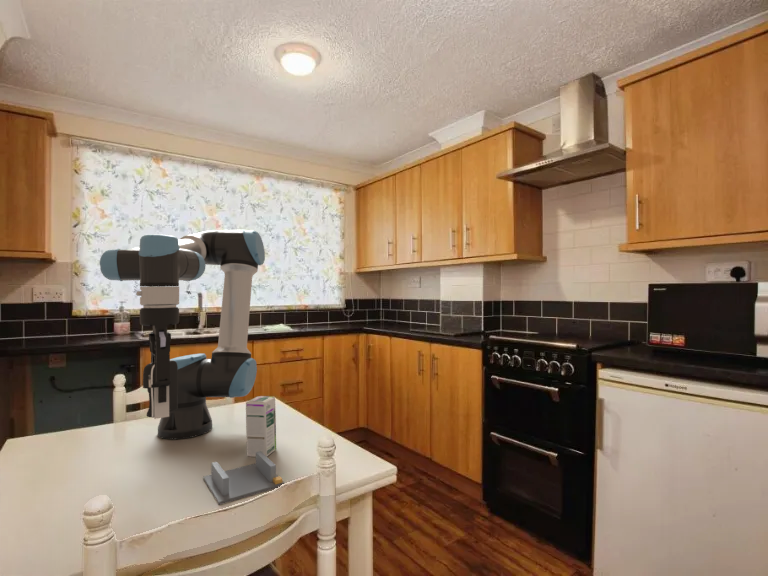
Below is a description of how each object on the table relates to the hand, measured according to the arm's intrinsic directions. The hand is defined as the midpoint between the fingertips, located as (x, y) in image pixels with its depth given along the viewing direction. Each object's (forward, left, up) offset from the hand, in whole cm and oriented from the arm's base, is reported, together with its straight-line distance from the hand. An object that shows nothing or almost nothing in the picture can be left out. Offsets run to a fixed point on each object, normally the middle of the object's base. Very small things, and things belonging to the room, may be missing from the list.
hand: (160, 412), depth 89 cm
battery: (0, 0, 0) cm, 1 cm away
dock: (+6, +16, -17) cm, 24 cm away
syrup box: (-8, +25, -17) cm, 31 cm away
